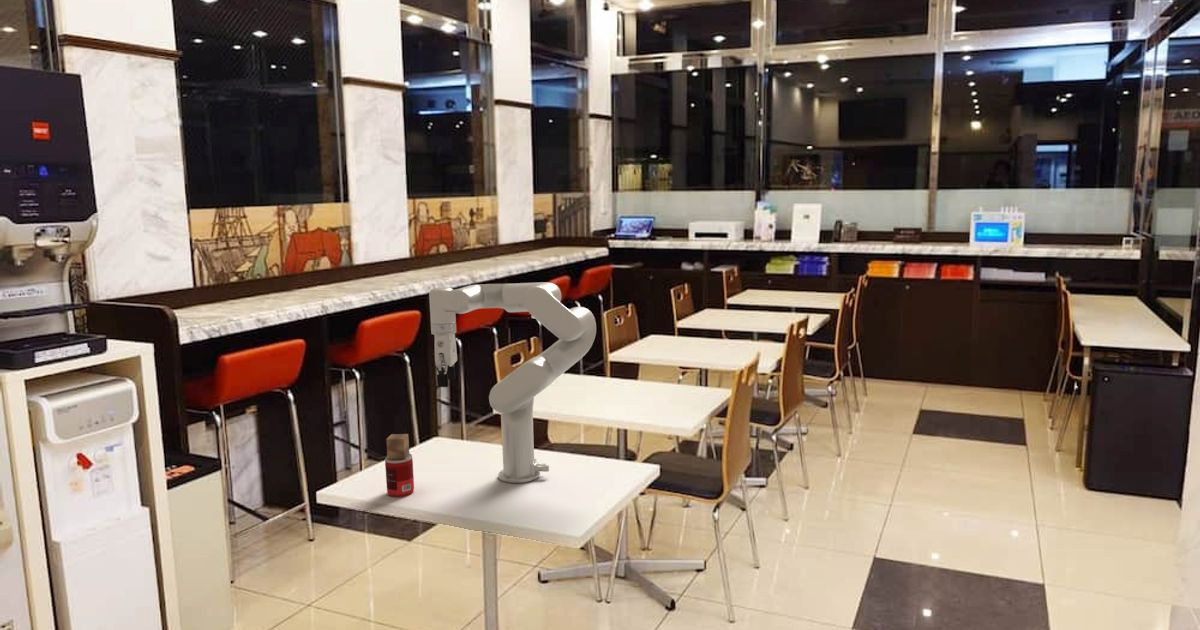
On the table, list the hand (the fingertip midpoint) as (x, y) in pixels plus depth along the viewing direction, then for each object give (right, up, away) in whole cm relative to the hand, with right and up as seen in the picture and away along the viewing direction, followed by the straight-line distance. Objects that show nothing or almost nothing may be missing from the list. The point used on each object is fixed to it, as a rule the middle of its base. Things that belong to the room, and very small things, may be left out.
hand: (446, 383), depth 264 cm
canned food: (-11, -31, -13) cm, 36 cm away
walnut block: (-11, -20, -15) cm, 27 cm away
